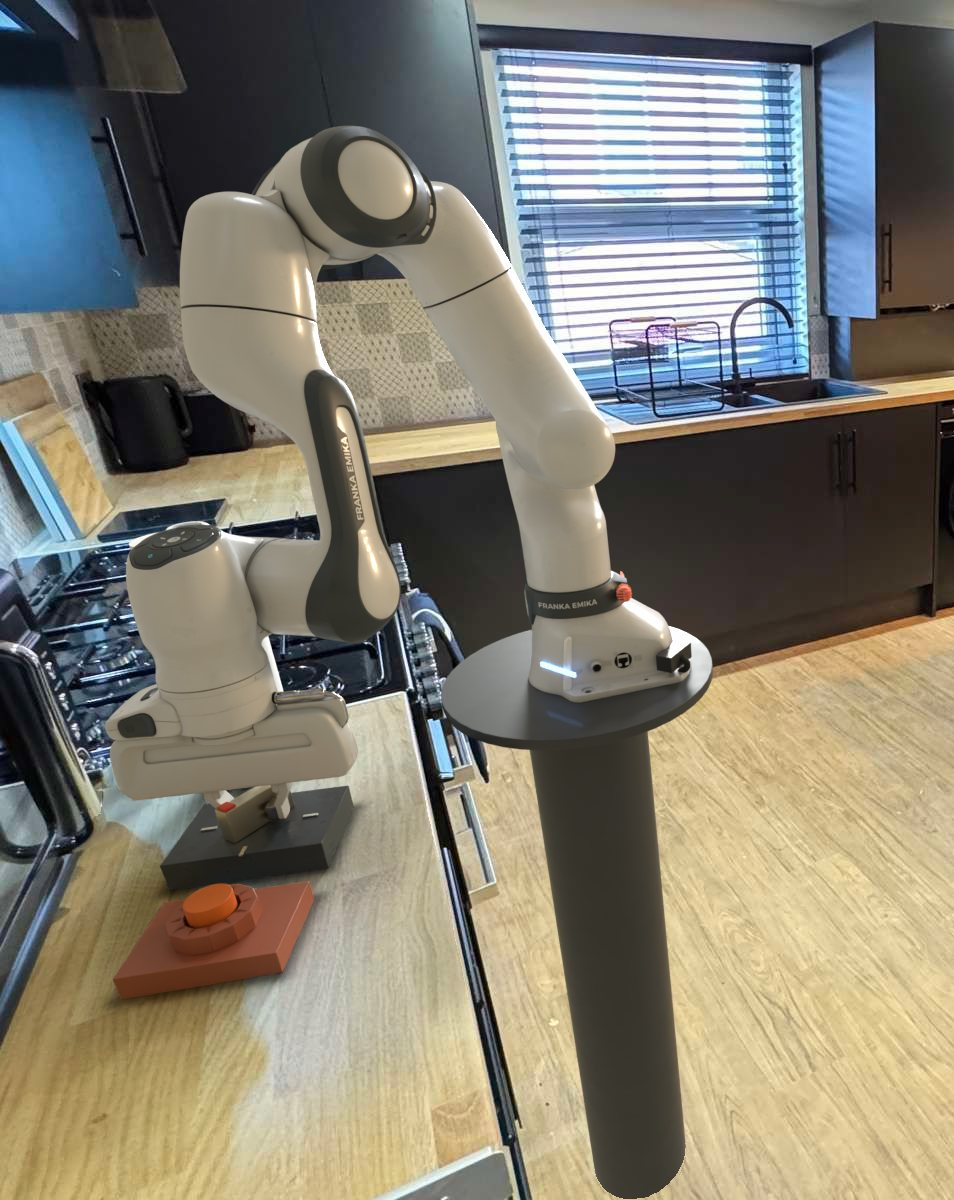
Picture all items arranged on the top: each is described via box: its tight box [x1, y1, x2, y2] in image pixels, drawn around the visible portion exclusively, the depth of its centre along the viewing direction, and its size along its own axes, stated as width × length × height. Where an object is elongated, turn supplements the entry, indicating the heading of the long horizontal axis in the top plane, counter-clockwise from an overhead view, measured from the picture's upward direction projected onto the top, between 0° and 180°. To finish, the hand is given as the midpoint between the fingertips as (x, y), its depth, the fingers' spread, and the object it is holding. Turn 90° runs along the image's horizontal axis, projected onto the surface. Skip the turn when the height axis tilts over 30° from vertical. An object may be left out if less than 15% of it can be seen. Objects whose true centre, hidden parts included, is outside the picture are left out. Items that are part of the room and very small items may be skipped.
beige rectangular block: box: [215, 785, 295, 843], centre depth 84 cm, size 6×2×4 cm, turn 157°
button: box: [183, 883, 238, 929], centre depth 72 cm, size 4×4×2 cm
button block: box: [112, 880, 315, 1000], centre depth 73 cm, size 12×9×4 cm
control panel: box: [159, 785, 355, 892], centre depth 86 cm, size 14×11×3 cm
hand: (259, 818), depth 85 cm, fingers closed on beige rectangular block, 2 cm apart
